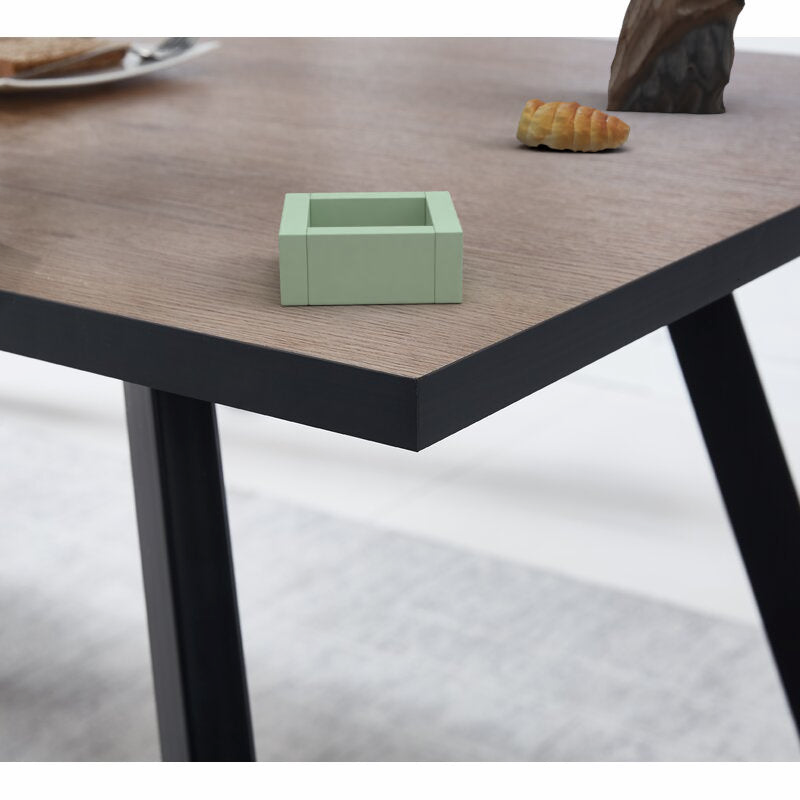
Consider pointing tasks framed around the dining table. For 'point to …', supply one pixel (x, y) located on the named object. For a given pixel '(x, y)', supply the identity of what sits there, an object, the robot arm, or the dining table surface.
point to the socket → (370, 248)
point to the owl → (674, 56)
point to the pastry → (570, 127)
